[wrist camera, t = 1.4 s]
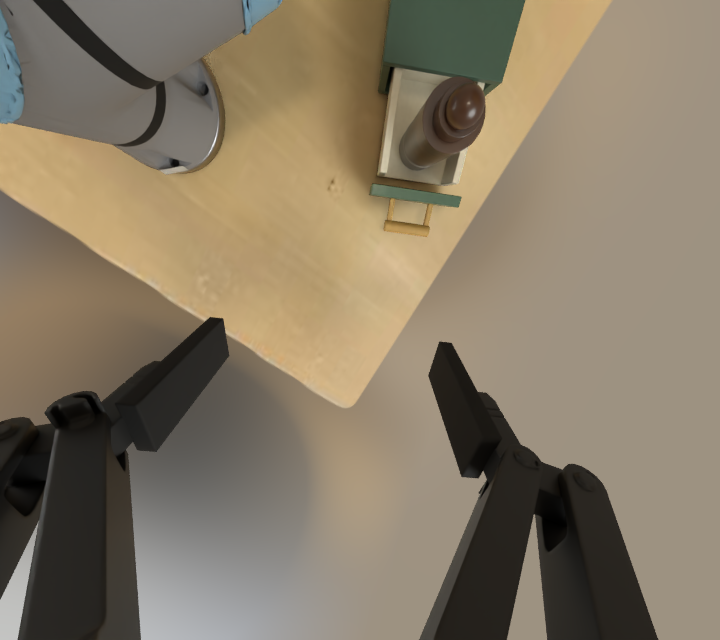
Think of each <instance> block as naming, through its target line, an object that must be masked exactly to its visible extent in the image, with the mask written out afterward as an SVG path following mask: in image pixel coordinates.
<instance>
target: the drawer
mask: <svg viewBox="0 0 720 640" xmlns="http://www.w3.org/2000/svg"><path fill="white" fill-rule="evenodd" d="M449 78H452V77H448V76H442V75H436V74H430V73H425V72H419V71H413V70H408V69H402V68H396V67H393V69H392V74H391V81H390V88H389V95H388V102H387V109H386V117H385V124H384V131H383V138H382V145H381V152H380V159H379V166H378V174H377V176H381V177H388V178H394V179H401V180H407V181H414V182H421V183H427V184H434V185H440V186H447V185H454V184H459V180H460V176H461V173H462V169H463V165H464V161H465V157H466V154H467V150H468V147H467V148H466V149H464V150H462V151H460V152H458V153H456V154H454V155H452V156H450V157H448V158H446V159H444V160H442V161H440V162H437V163H436V164H434V165H432V166H430V167H427V168H425V169H422V170H418V171H415V170H411V169H409V168H407V167H406V166H405V165H404V164H403V162H402V161H401V158H400V154H399V145H400V141H401V139H402V136H403V135H404V133H405V132H406V130H407V128H408V126H409V125H410V124H411V122H412V121H413V120H414V118H415V117H416V115H417V114H418V112H419V111H420V109H421V108H422V106H423V105H424V103H425V102H426V100H427V99H428V97H429V96H430V94H431V93H432V91H433V90H434V89H435V88H436V87H437V86H438V85H439V84H440V83H441V82H443V81H445V80H446V79H449ZM473 82H475V83H476V84H477V85H479V86H480V87H481V88H482V90H483V89H484V85H485V83H482V82H476V81H473ZM370 195H371V196H378V197H385V198H390V203H389V209H388V215H387V220H385V223H384V231H389V232H396V233H403V234H410V235H417V236H425V237H427V236H428V234H429V230H430V227H429V226H428V225H429V221H430V216H431V212H432V208H433V205H439V206H447V207H459V204H460V201H461V197H460V196H453V195H446V194H440V193H433V192H426V191H420V190H413V189H406V188H400V187H393V186H386V185H380V184H372V185H371V187H370ZM395 199H398V200H405V201H412V202H419V203H425V204H428V206H427V210H426V214H425V219H424V223H423V225H418V224H411V223H404V222H397V221H391V220H392V215H393V209H394V204H395Z"/></svg>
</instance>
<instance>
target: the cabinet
mask: <svg viewBox="0 0 720 640" xmlns="http://www.w3.org/2000/svg"><path fill="white" fill-rule="evenodd" d="M524 3H525V0H390V2H389V10H388V18H387V26H386V34H385V41H384V49H383V57H382V65H381V73H380V81H379V89H378V93H384V94H389V88H390V81H391V74H392V69H393V67H396V68H402V69H408V70H413V71H419V72H425V73H430V74H436V75H442V76H448V77H466V78H468V79H470V80H472V81H476V82H482V83H485V85H484V89H483V92H484V95H485V96H486V95H487V94H488V93H489V92H491V91H492V90H493V89H494V88H495V87H497V86H498V85H499V84H500V83H502V80H503V77H504V73H505V70H506V66H507V63H508V59H509V56H510V52H511V49H512V45H513V42H514V38H515V35H516V31H517V28H518V24H519V21H520V17H521V13H522V10H523V6H524Z"/></svg>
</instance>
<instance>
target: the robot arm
mask: <svg viewBox="0 0 720 640" xmlns="http://www.w3.org/2000/svg"><path fill="white" fill-rule="evenodd" d="M281 2H282V0H0V123H2V124H3V123H4V124H8V123H11V124H12V123H13V124H18V125H22V126H27V127H32V128H37V129H41V130H46V131H51V132H55V133H60V134H65V135H69V136H74V137H79V138H83V139H88V140H93V141H97V142H102V143H107V144H112V145H114V146H115V147H117V148H119V149H120V150H122V151H123V152H125V153H127V154H128V155H130V156H131V157H133V158H135V159H136V160H138V161H140V162H141V163H143V164H145V165H147V166H149V167H151V168H154V169H157V170H160V171H161V172H163V173H164V174H166V175H167V174H172V173H190V172H194V171H197V170H200V169H202V168H203V167H205V166H206V165H208V164H209V163H210V162H211V161H212V160H213V158H214V157H215V156H216V154H217V153H218V151H219V149H220V146H221V144H222V140H223V136H224V130H225V112H224V105H223V100H222V96H221V93H220V90H219V87H218V84H217V82H216V79H215V77H214V75H213V73H212V71H211V70H210V68H209V66H208V64H207V63H206V62H205V60H204V59H203V56H205V55H207V54H208V53H210V52H211V51H213V50H215V49H216V48H218V47H219V46H221V45H223V44H224V43H226V42H227V41H229V40H231V39H232V38H234V37H235V36H237V35H239V34H240V33H243V34H244V35H247V34H249V33H250V31H251V27H252V26H253V25H254V24H256V23H257V22H259V21H260V20H261V19H263V18H264V17H266V16H267V15H268V14H270V13H271V12H272V11H274V10H275V9H276V8H278V6H279V5H280V4H281ZM228 357H229V352H228V345H227V339H226V333H225V327H224V321H223V318H213V317H210V318H209V319H207V320H206V321H205V322H204V323H203V324H202V325H201V326H200V327H199V328H197V329H196V330H195V331H194V332H193V333H192V334H191V335H190V336H189V337H187V338H186V339H185V340H184V341H183V342H182V343H181V344H180V345H179V346H178V347H176V348H175V349H174V350H173V351H172V352H171V353H170V354H169V355H168V356H166V357H165V358H164V359H163V360H162V361H154V362H152V363H150V364H148V365H146V366H144V367H142V368H141V369H140V370H139V371H137V372H136V373H135V374H134V375H133V377H131V378H129V379H128V380H127V381H126V383H123V384H122V385H121V386H120V387H119V388H117V389H116V390H115V391H114V392H113V393H112V394H110V395H109V396H108V397H107V398H106V399H104V400H103V401H102V402H101V401H100V399H99V397H98V395H97V394H96V393H94V392H92V391H82V392H78V393H73V394H70V395H67V396H65V397H63V398H61V399H59V400H57V401H55V402H54V403H53V404H51V405H50V406H49V407H48V408H47V410H46V411H45V415H46V416H47V418H48V419H49V420H50V422H51V423H52V424H45V425H39V426H34V424H33V423H32V421H31V420H30V419H29V418H25V417H19V418H12V419H8V420H5V421H1V422H0V599H1V597H2V595H3V593H4V591H5V589H6V587H7V584H8V583H9V580H10V579H11V576H12V574H13V572H14V570H15V568H16V566H17V564H18V562H19V560H20V558H21V556H22V554H23V552H24V550H25V548H26V546H27V544H28V542H29V540H30V538H31V535H32V533H33V531H34V529H35V527H36V525H37V523H38V521H39V524H38V529H37V535H36V541H35V546H34V552H33V557H32V563H31V569H30V574H29V580H28V585H27V591H26V596H25V602H24V607H23V614H22V619H21V624H20V630H19V635H18V640H141V635H140V620H139V606H138V591H137V576H136V562H135V548H134V533H133V518H132V504H131V489H130V475H129V460H128V453H127V451H126V449H127V447H128V446H129V445H130V444H131V443H132V442H134V444H135V446H136V448H137V450H141V451H153V452H157V450H158V449H159V448H160V446H161V445H162V444H163V442H164V441H165V440H166V438H167V437H168V436H169V434H170V433H171V432H172V430H173V429H174V428H175V426H176V425H177V424H178V423H179V421H180V419H181V418H182V417H183V416H184V415H185V413H186V412H187V411H188V409H189V408H190V406H191V405H192V404H193V403H194V401H195V400H196V399H197V397H198V396H199V395H200V394H201V392H202V391H203V390H204V388H205V387H206V386H207V384H208V383H209V382H210V380H211V379H212V378H213V376H214V375H215V374H216V372H217V371H218V370H219V368H220V367H221V366H222V364H223V363H224V362H225V360H226V359H227V358H228ZM429 379H430V382H431V385H432V388H433V391H434V394H435V397H436V400H437V403H438V407H439V409H440V413H441V416H442V419H443V422H444V425H445V428H446V431H447V434H448V437H449V440H450V443H451V446H452V449H453V452H454V455H455V458H456V461H457V464H458V467H459V470H460V474H461V476H462V477H469V478H479V476H480V475H481V473H482V471H484V473H485V475H486V478H487V481H486V482H485V484H484V485H483V487H482V488H481V490H480V492H479V494H480V496H479V498H478V500H477V503H476V505H475V508H474V510H473V513H472V515H471V517H470V520H469V522H468V524H467V527H466V529H465V532H464V534H463V536H462V539H461V541H460V543H459V546H458V548H457V551H456V553H455V556H454V558H453V560H452V563H451V565H450V567H449V570H448V572H447V575H446V577H445V579H444V582H443V584H442V587H441V589H440V592H439V594H438V596H437V599H436V601H435V603H434V606H433V608H432V611H431V613H430V616H429V618H428V620H427V623H426V625H425V627H424V630H423V632H422V635H421V637H420V639H419V640H507V636H508V631H509V626H510V621H511V617H512V613H513V608H514V603H515V599H516V594H517V589H518V585H519V580H520V575H521V571H522V565H523V561H524V557H525V552H526V547H527V543H528V538H529V533H530V529H531V524H532V519H533V515H534V514H535V518H536V528H537V538H538V549H539V559H540V569H541V578H542V579H541V580H542V590H543V601H544V611H545V621H546V632H547V640H658V638H657V635H656V632H655V629H654V626H653V624H652V621H651V618H650V615H649V612H648V609H647V606H646V604H645V601H644V598H643V595H642V592H641V589H640V586H639V583H638V580H637V578H636V575H635V572H634V569H633V566H632V563H631V560H630V557H629V555H628V552H627V549H626V546H625V543H624V540H623V537H622V534H621V531H620V529H619V526H618V523H617V520H616V517H615V514H614V511H613V508H612V506H611V503H610V500H609V497H608V494H607V491H606V489H605V487H604V485H603V484H602V482H601V481H600V480H599V479H598V478H597V477H596V476H595V475H594V474H593V473H591V472H590V471H589V470H587V469H585V468H583V467H582V466H579V465H576V464H568V465H567V466H566V467H565V468H564V469H563V470H561V469H559V468H556V467H554V466H551V465H548V464H545V463H543V462H541V461H540V459H539V458H538V457H537V456H536V454H535V453H534V452H532V451H531V450H530V449H528V448H527V447H525V446H522V445H521V444H520V443H519V441H518V439H517V438H516V436H515V434H514V432H513V431H512V429H511V427H510V426H509V424H508V422H507V421H506V419H505V418H504V416H503V414H502V412H501V411H500V409H499V407H498V406H497V404H496V402H495V401H494V400H493V399H492V398H491V397H490V396H489V395H488V394H487V393H483V392H477V390H476V388H475V386H474V384H473V382H472V380H471V379H470V377H469V375H468V373H467V371H466V369H465V367H464V365H463V364H462V362H461V360H460V358H459V356H458V354H457V353H456V350H455V349H454V347H453V345H452V343H447V342H439V344H438V347H437V351H436V354H435V357H434V360H433V363H432V366H431V369H430V372H429Z"/></svg>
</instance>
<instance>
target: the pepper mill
mask: <svg viewBox="0 0 720 640" xmlns="http://www.w3.org/2000/svg"><path fill="white" fill-rule="evenodd" d="M484 119H485V95H484V92H483V90H482V88H481V87H480V86H479V85H477V84H476V83H475V82H473V81H472V80H470V79H468V78H466V77H452V78H449V79H446V80H445V81H443V82H441V83H440V84H439V85H438V86H437V87H436V88H435V89H434V90H433V91H432V93H431V94H430V96H429V97H428V99H427V100H426V102H425V103H424V105H423V106H422V108H421V109H420V111H419V112H418V114H417V115H416V117H415V118H414V120H413V121H412V122H411V124H410V125H409V126H408V128H407V130H406V132H405V133H404V135H403V136H402V139H401V141H400V145H399V154H400V158H401V161H402V162H403V164H404V165H405V166H406V167H407V168H409V169H411V170H415V171H418V170H422V169H425V168H427V167H430V166H432V165H434V164H436V163H437V162H440V161H442V160H444V159H446V158H448V157H450V156H452V155H454V154H456V153H458V152H460V151H462V150H464V149H466V148H467V147H468V146H470V145H471V144H472V143H473V141H474V140H475V139H476V138H477V136H478V135H479V133H480V131H481V129H482V126H483V123H484Z"/></svg>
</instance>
